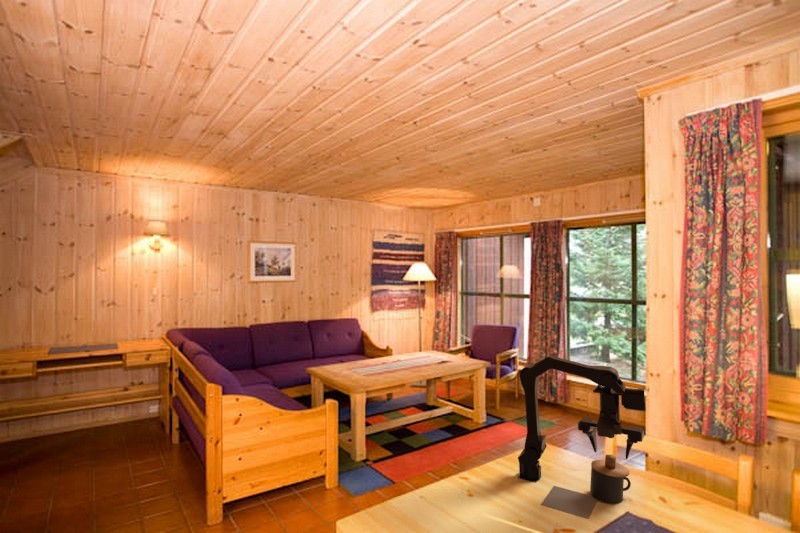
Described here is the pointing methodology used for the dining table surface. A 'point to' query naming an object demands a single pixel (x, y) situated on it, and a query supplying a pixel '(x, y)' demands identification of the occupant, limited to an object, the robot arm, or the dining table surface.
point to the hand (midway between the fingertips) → (610, 455)
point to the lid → (610, 467)
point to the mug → (607, 487)
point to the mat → (570, 502)
